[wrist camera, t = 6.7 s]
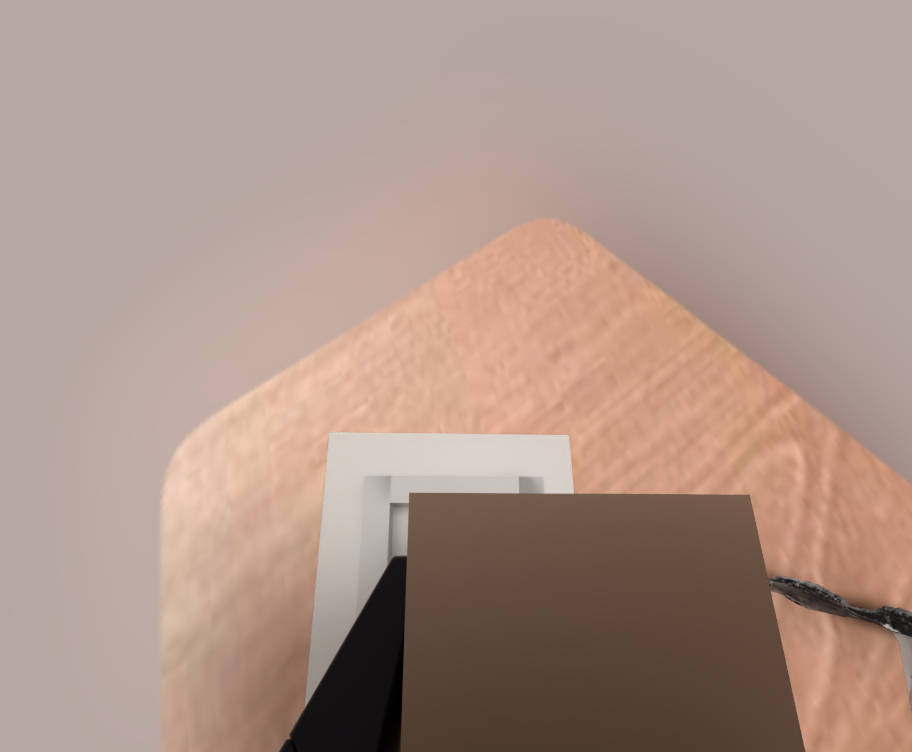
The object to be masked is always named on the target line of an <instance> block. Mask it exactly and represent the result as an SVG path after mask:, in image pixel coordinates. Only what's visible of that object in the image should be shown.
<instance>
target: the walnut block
mask: <svg viewBox="0 0 912 752" xmlns="http://www.w3.org/2000/svg"><path fill="white" fill-rule="evenodd" d="M401 752H805V748H804V744H803V739H802V735H801V730H800V725H799V721H798V716H797V712H796V707H795V702H794V698H793V693H792V688H791V684H790V679H789V675H788V670H787V665H786V661H785V656H784V651H783V647H782V642H781V638H780V633H779V628H778V624H777V619H776V615H775V610H774V605H773V601H772V596H771V591H770V587H769V582H768V578H767V573H766V568H765V564H764V559H763V554H762V550H761V545H760V541H759V536H758V531H757V527H756V522H755V517H754V513H753V508H752V504H751V499H750V495H690V494H542V493H409V513H408V543H407V573H406V603H405V632H404V662H403V692H402V722H401Z"/></svg>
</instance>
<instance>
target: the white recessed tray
mask: <svg viewBox="0 0 912 752" xmlns="http://www.w3.org/2000/svg"><path fill="white" fill-rule="evenodd" d="M409 493H542V494H574V490H573V479H572V468H571V456H570V445H569V435H517V434H432V433H346V432H329V443H328V454H327V465H326V476H325V487H324V498H323V509H322V520H321V531H320V542H319V553H318V564H317V575H316V586H315V597H314V608H313V620H312V631H311V642H310V653H309V664H308V675H307V686H306V697H305V707H306V705H307V703H308V702H309V700H310V698H311V696H312V695H313V693H314V691H315V689H316V688H317V686H318V684H319V683H320V681H321V679H322V677H323V676H324V674H325V672H326V671H327V669H328V667H329V665H330V664H331V662H332V660H333V658H334V657H335V655H336V653H337V652H338V650H339V648H340V646H341V645H342V643H343V641H344V639H345V638H346V636H347V634H348V633H349V631H350V629H351V627H352V626H353V624H354V622H355V621H356V619H357V617H358V615H359V614H360V612H361V610H362V608H363V607H364V605H365V603H366V602H367V600H368V598H369V596H370V595H371V593H372V591H373V590H374V588H375V586H376V584H377V583H378V581H379V579H380V577H381V576H382V574H383V572H384V571H385V569H386V567H387V565H388V564H389V562H390V560H391V559H392V558H393V557H394V556H406V555H407V543H408V513H409Z"/></svg>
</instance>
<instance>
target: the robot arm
mask: <svg viewBox="0 0 912 752" xmlns="http://www.w3.org/2000/svg"><path fill="white" fill-rule="evenodd" d="M406 573H407V555H406V556H394V557H393V558H392V559H391V560H390V562H389V564H388V565H387V567H386V569H385V571H384V572H383V574H382V576H381V577H380V579H379V581H378V583H377V584H376V586H375V588H374V590H373V591H372V593H371V595H370V596H369V598H368V600H367V602H366V603H365V605H364V607H363V608H362V610H361V612H360V614H359V615H358V617H357V619H356V621H355V622H354V624H353V626H352V627H351V629H350V631H349V633H348V634H347V636H346V638H345V639H344V641H343V643H342V645H341V646H340V648H339V650H338V652H337V653H336V655H335V657H334V658H333V660H332V662H331V664H330V665H329V667H328V669H327V671H326V672H325V674H324V676H323V677H322V679H321V681H320V683H319V684H318V686H317V688H316V689H315V691H314V693H313V695H312V696H311V698H310V700H309V702H308V703H307V705H306V707H305V708H304V710H303V712H302V714H301V715H300V717H299V719H298V720H297V722H296V724H295V726H294V727H293V729H292V731H291V733H290V739H287V740H286V741H285V742H284V744H283V746H282V748H281V749H280V751H279V752H401V722H402V692H403V662H404V632H405V603H406Z"/></svg>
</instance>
